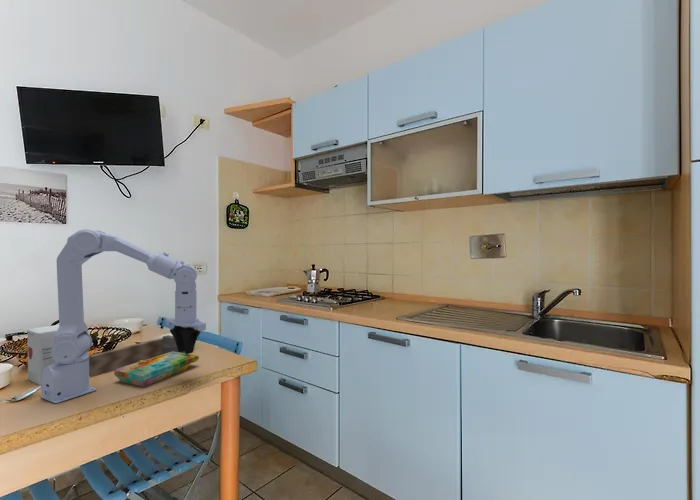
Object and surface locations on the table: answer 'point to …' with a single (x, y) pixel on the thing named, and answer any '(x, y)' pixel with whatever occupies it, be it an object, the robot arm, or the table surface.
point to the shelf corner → (130, 355)
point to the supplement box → (40, 351)
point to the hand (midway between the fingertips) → (185, 352)
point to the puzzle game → (155, 368)
